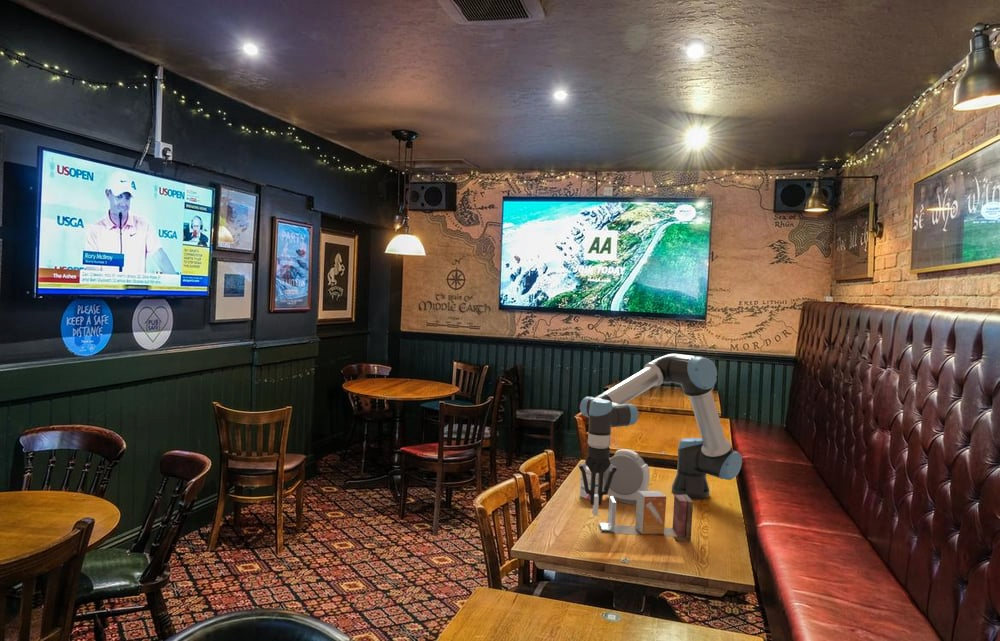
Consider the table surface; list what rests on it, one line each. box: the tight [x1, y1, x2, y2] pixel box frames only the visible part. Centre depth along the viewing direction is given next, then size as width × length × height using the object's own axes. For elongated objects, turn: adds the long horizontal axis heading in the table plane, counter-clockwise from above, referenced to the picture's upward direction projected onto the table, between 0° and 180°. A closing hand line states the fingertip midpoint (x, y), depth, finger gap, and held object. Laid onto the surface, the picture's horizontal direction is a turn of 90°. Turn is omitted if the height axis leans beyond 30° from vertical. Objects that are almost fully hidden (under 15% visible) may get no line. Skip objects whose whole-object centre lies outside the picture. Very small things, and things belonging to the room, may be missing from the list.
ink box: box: [579, 466, 604, 501], centre depth 258 cm, size 8×5×12 cm, turn 37°
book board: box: [597, 494, 694, 543], centre depth 221 cm, size 30×8×14 cm, turn 89°
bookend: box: [599, 496, 617, 532], centre depth 221 cm, size 4×7×10 cm, turn 179°
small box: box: [634, 490, 667, 534], centre depth 221 cm, size 8×6×13 cm
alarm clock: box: [603, 448, 651, 506], centre depth 257 cm, size 18×8×20 cm, turn 63°
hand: (595, 514), depth 221 cm, fingers closed
